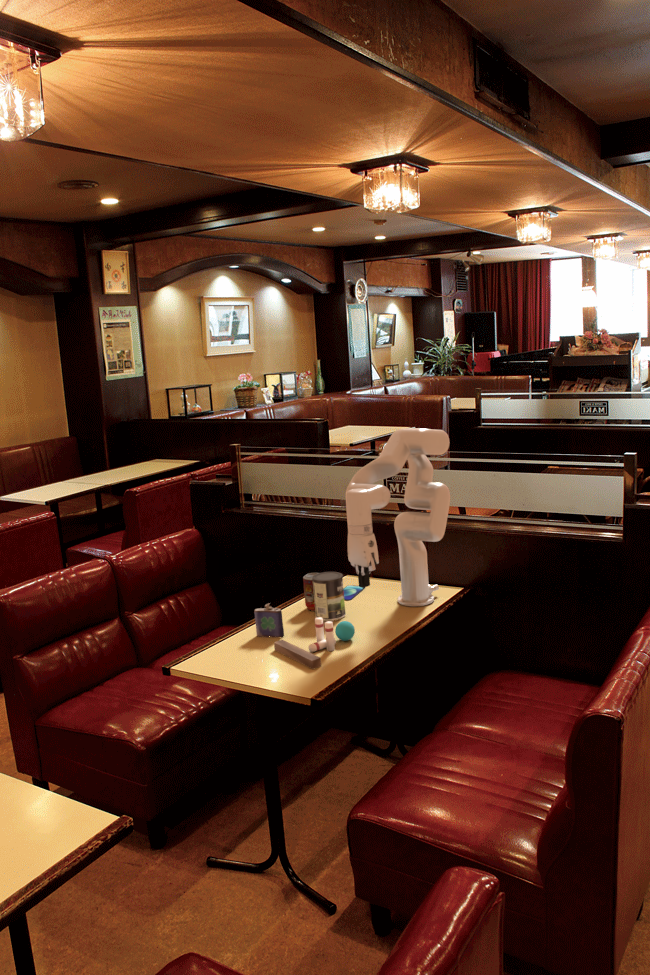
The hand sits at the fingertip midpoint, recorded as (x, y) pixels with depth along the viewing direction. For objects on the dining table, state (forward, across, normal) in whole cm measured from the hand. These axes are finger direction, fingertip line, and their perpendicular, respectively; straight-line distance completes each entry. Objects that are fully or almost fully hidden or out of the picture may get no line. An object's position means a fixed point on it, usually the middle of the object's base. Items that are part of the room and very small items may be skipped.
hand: (364, 586), depth 232 cm
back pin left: (+15, -2, +16) cm, 23 cm away
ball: (+12, 0, +9) cm, 15 cm away
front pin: (+14, 0, +13) cm, 19 cm away
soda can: (+15, +31, -2) cm, 35 cm away
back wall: (+15, 0, +27) cm, 31 cm away
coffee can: (+15, +21, -1) cm, 26 cm away
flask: (+15, +21, +23) cm, 35 cm away
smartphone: (+16, +35, -20) cm, 43 cm away
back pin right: (+15, +2, +16) cm, 23 cm away
